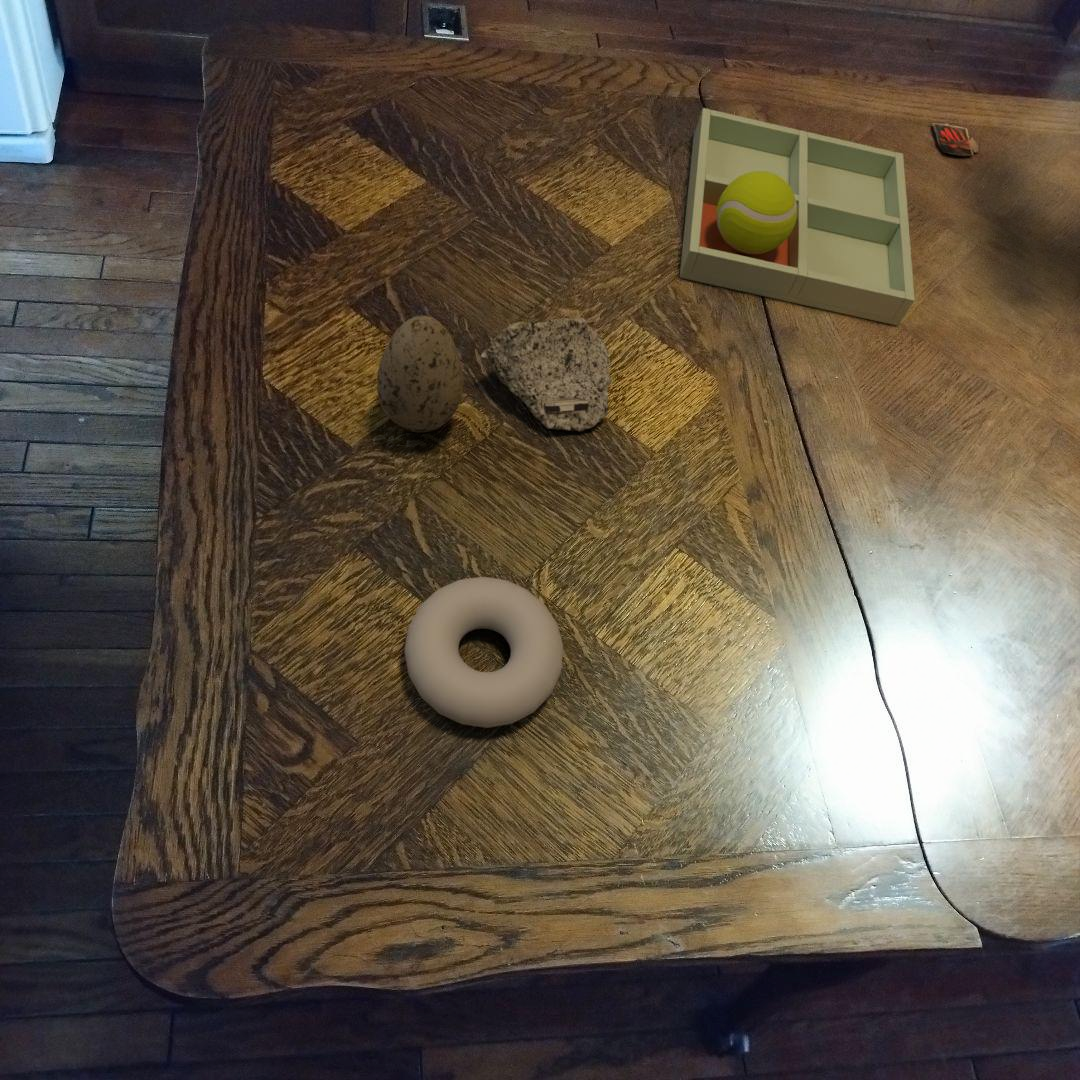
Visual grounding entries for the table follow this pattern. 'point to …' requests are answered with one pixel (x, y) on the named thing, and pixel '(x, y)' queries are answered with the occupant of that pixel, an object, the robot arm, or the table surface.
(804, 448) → the table surface
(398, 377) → the decorative egg
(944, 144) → the matchbox
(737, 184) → the tennis ball
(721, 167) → the grid
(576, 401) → the rock sample
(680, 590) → the table surface
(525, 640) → the donut
